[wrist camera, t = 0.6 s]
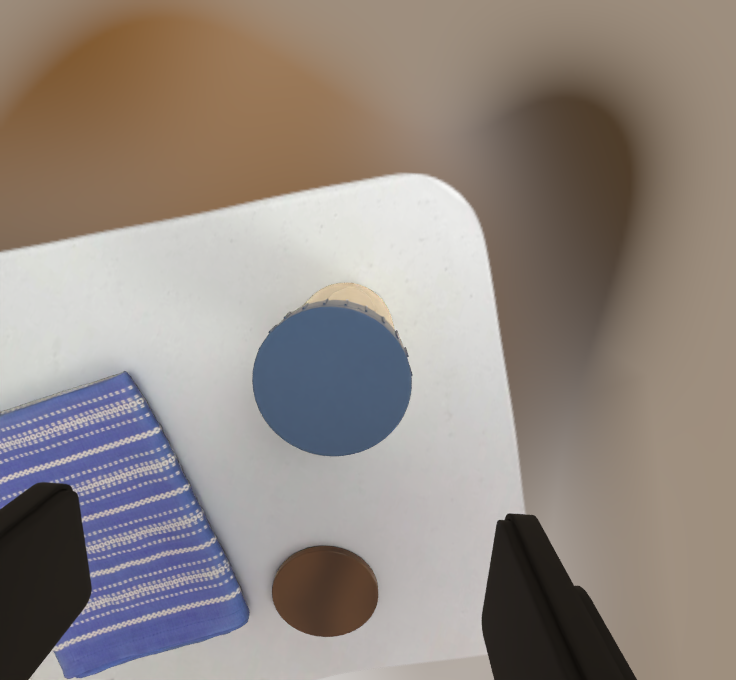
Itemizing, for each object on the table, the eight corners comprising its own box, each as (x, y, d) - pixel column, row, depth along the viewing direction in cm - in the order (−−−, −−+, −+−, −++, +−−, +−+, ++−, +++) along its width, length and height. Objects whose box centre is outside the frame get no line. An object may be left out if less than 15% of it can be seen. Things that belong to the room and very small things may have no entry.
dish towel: (85, 657, 37) (62, 690, 34) (-64, 432, 32) (-105, 451, 29) (260, 609, 36) (250, 640, 33) (136, 364, 30) (113, 378, 27)
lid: (414, 302, 20) (419, 309, 18) (404, 441, 21) (407, 461, 20) (259, 294, 20) (248, 301, 18) (262, 435, 21) (252, 454, 20)
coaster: (380, 547, 34) (381, 553, 34) (375, 632, 36) (375, 639, 36) (272, 543, 34) (271, 548, 33) (274, 628, 36) (272, 635, 36)
